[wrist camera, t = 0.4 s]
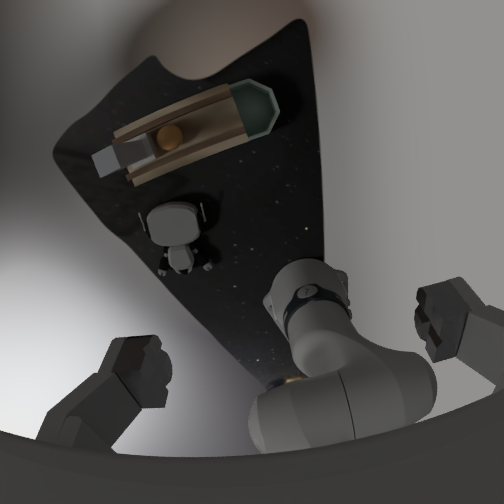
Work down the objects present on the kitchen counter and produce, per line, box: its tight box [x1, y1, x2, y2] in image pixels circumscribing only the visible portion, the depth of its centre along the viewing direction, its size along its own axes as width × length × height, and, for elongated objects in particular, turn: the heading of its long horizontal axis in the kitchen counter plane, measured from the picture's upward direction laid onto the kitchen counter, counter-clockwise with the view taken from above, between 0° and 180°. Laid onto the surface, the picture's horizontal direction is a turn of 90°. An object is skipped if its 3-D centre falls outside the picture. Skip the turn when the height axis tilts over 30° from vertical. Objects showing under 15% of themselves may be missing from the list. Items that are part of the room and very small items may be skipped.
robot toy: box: [139, 202, 213, 276], centre depth 62 cm, size 12×4×15 cm
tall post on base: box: [92, 132, 160, 178], centre depth 41 cm, size 4×4×15 cm
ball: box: [157, 125, 183, 150], centre depth 46 cm, size 4×4×4 cm
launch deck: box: [112, 83, 249, 186], centre depth 51 cm, size 10×20×11 cm, turn 110°
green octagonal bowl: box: [228, 79, 280, 140], centre depth 53 cm, size 10×10×5 cm
